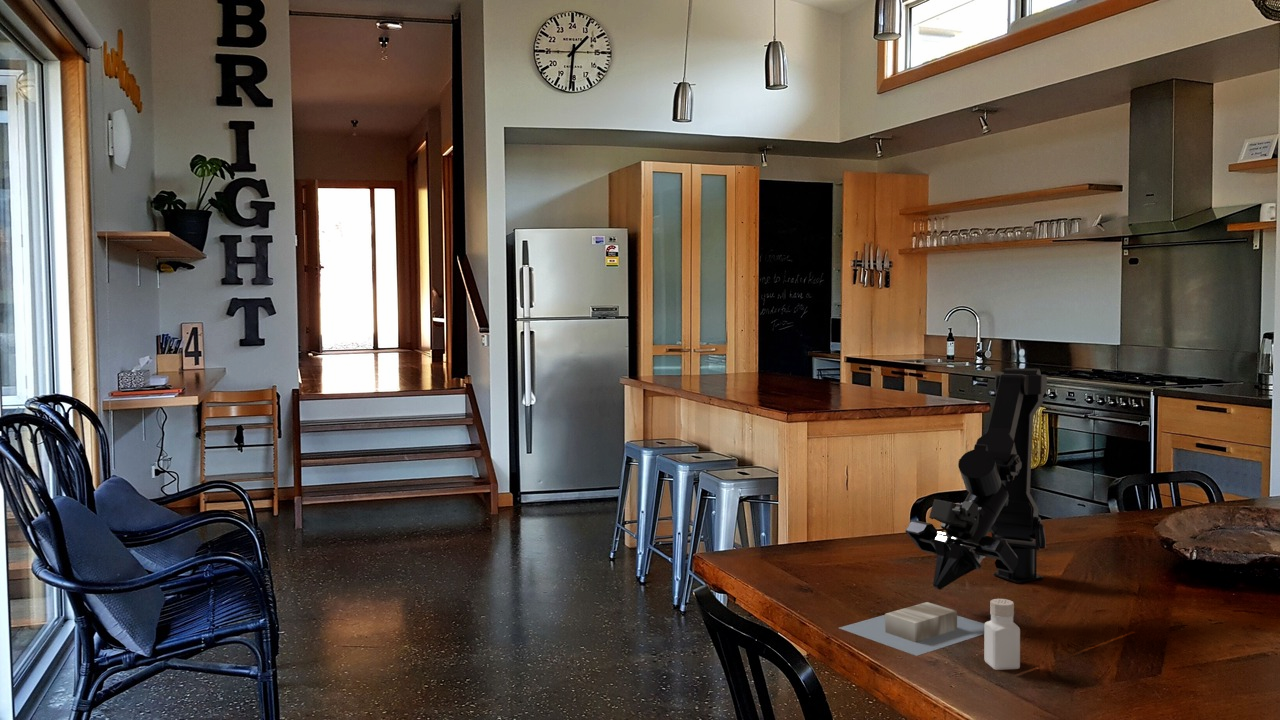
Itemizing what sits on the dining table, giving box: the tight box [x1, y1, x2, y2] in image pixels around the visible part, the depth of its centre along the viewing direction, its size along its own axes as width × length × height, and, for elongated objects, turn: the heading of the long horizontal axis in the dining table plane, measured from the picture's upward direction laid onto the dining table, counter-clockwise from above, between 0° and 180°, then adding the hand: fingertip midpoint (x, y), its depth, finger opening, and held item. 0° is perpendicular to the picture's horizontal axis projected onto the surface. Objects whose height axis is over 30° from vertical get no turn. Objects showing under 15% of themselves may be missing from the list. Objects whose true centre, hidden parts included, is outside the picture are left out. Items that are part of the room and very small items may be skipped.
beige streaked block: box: [884, 601, 958, 642], centre depth 161 cm, size 3×6×10 cm
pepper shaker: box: [983, 598, 1021, 671], centre depth 146 cm, size 4×4×10 cm
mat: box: [838, 614, 985, 657], centre depth 163 cm, size 20×16×1 cm
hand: (936, 587), depth 163 cm, fingers closed
